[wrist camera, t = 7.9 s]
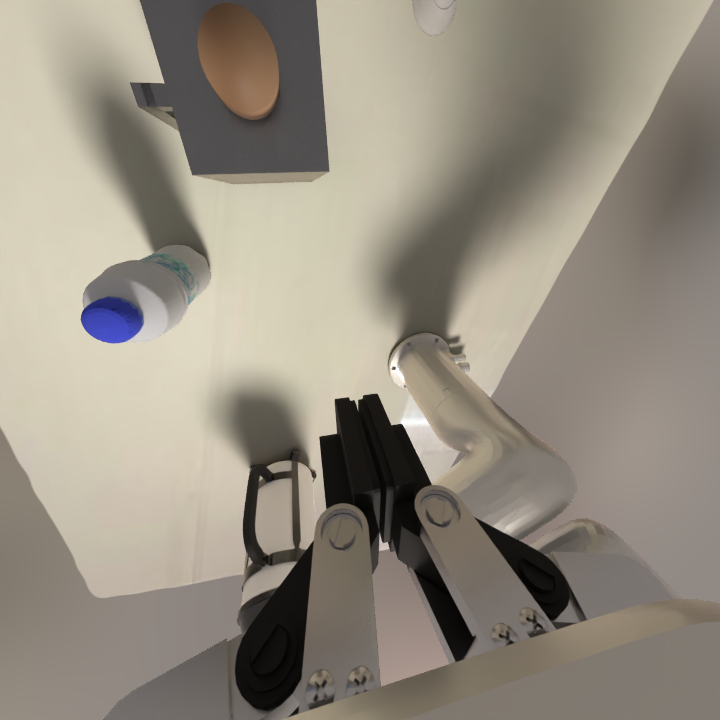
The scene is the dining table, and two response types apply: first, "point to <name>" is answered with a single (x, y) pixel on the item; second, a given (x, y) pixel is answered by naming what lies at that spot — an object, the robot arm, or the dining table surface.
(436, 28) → the chalice
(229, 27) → the plunger
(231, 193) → the dining table surface
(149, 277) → the bottle
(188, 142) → the grey peg holder block
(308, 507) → the coffee press
